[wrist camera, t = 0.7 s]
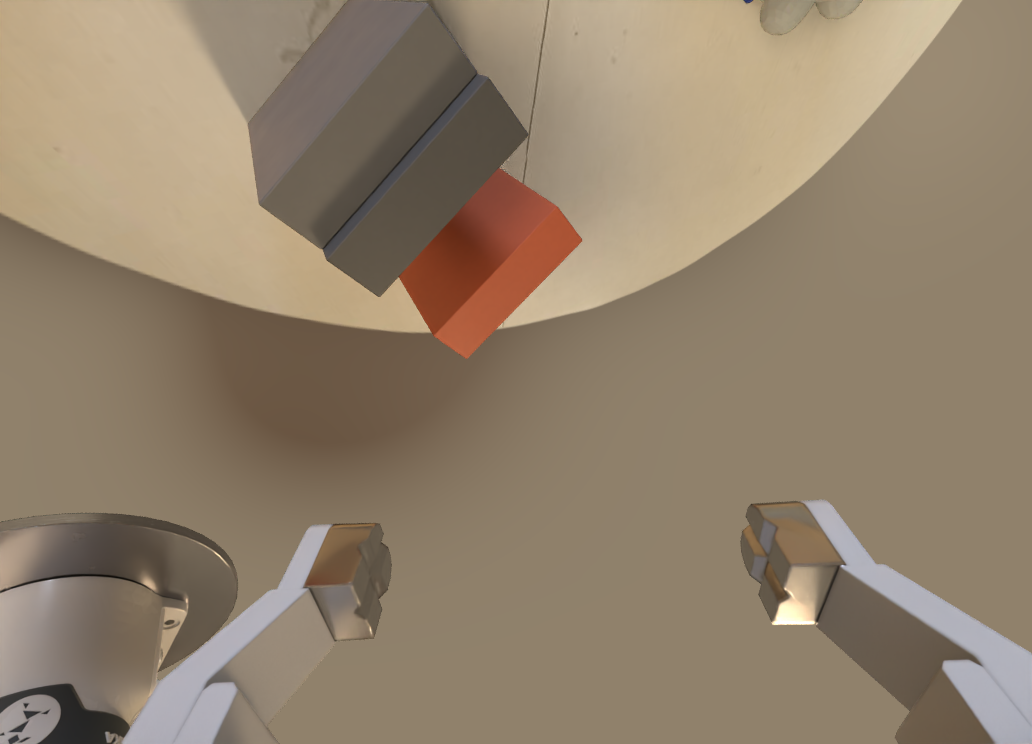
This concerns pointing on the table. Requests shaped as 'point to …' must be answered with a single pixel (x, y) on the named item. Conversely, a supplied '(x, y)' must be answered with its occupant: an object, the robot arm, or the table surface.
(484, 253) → the terracotta book
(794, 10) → the figurine
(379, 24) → the grey books
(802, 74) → the table surface
